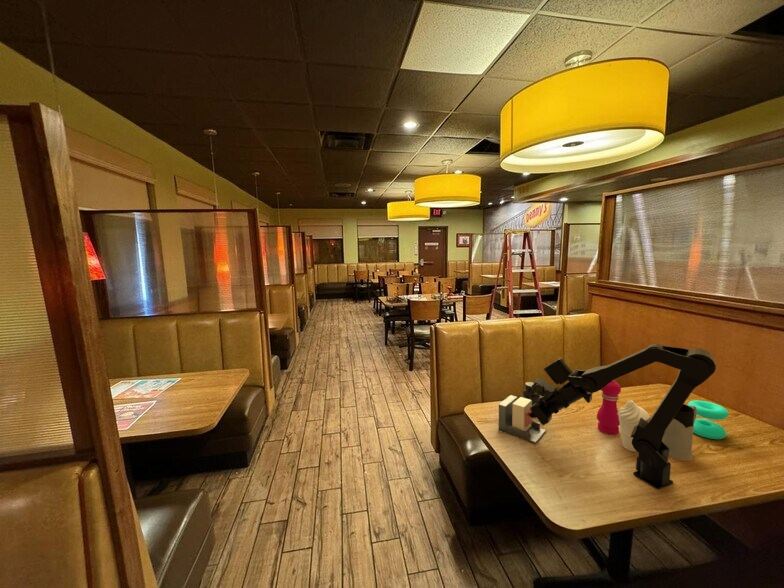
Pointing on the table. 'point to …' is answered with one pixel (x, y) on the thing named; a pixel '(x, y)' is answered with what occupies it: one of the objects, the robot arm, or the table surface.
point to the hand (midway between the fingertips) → (530, 415)
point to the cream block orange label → (521, 414)
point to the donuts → (706, 426)
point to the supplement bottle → (530, 393)
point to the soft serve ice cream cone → (630, 422)
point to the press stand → (506, 426)
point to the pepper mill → (609, 409)
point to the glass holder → (681, 433)
